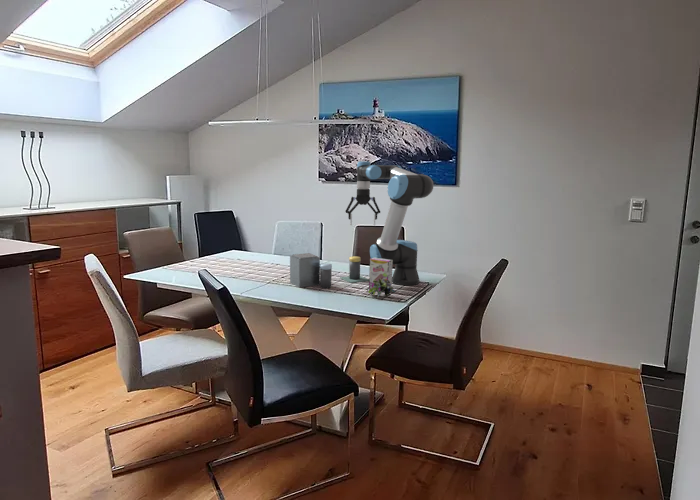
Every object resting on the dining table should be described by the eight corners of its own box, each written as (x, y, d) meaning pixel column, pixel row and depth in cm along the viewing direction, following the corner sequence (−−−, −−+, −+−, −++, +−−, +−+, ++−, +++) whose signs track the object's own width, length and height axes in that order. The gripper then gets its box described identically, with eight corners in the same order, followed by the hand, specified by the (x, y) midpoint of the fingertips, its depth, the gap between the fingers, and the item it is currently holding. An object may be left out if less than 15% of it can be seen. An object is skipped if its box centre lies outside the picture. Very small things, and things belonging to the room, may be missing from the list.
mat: (369, 280, 288) (369, 279, 288) (350, 283, 282) (350, 281, 282) (358, 276, 298) (358, 275, 298) (340, 278, 292) (340, 277, 292)
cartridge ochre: (362, 278, 289) (362, 257, 287) (352, 280, 286) (353, 258, 284) (356, 276, 294) (356, 256, 292) (347, 277, 291) (347, 256, 289)
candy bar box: (368, 289, 269) (369, 258, 266) (373, 287, 273) (373, 257, 270) (387, 292, 263) (388, 261, 260) (392, 290, 268) (393, 259, 265)
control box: (319, 284, 277) (319, 256, 274) (299, 287, 271) (299, 258, 268) (309, 280, 288) (309, 252, 285) (289, 282, 282) (289, 254, 279)
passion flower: (385, 306, 259) (400, 288, 255) (375, 307, 249) (390, 289, 245) (371, 290, 263) (385, 273, 259) (360, 291, 254) (374, 273, 250)
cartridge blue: (333, 287, 272) (333, 265, 270) (323, 288, 269) (323, 266, 267) (328, 284, 278) (328, 263, 275) (317, 286, 275) (317, 264, 272)
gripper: (384, 188, 302) (383, 224, 306) (341, 187, 301) (341, 224, 305) (385, 189, 294) (384, 226, 298) (341, 188, 293) (341, 225, 297)
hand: (362, 225), depth 301 cm, fingers open, 13 cm apart
